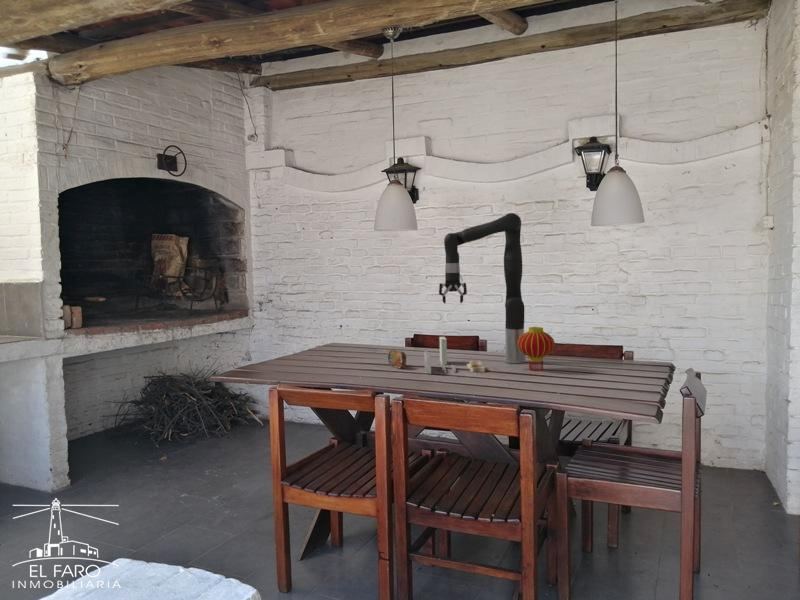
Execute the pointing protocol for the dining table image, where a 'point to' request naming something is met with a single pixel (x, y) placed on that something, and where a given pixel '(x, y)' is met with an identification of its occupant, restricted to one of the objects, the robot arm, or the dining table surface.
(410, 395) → the dining table surface
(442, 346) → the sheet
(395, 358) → the tin
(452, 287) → the robot arm
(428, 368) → the rack
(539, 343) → the lantern
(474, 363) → the offcuts
